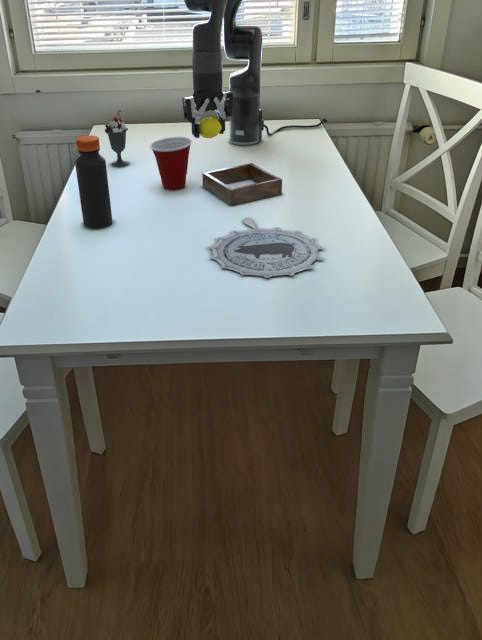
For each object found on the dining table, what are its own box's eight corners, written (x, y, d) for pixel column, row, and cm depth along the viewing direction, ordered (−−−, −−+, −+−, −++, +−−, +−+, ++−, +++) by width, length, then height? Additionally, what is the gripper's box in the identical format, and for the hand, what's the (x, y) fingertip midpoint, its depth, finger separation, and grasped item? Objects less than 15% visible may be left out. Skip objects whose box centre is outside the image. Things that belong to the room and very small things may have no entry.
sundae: (133, 160, 188) (128, 108, 180) (128, 168, 182) (123, 114, 174) (111, 160, 188) (105, 108, 180) (106, 168, 183) (100, 114, 175)
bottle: (78, 223, 150) (66, 138, 139) (103, 215, 153) (93, 132, 142) (92, 232, 145) (80, 145, 134) (118, 224, 149) (108, 138, 138)
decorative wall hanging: (339, 272, 125) (301, 214, 150) (339, 271, 125) (301, 213, 150) (217, 282, 123) (199, 222, 148) (217, 281, 123) (199, 221, 148)
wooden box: (251, 177, 173) (251, 162, 171) (281, 194, 162) (282, 179, 160) (202, 187, 168) (202, 172, 165) (230, 206, 156) (230, 190, 154)
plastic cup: (152, 180, 173) (149, 136, 166) (192, 178, 173) (190, 134, 167) (153, 195, 164) (149, 149, 157) (194, 193, 164) (193, 146, 158)
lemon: (220, 134, 172) (220, 114, 169) (223, 140, 168) (222, 119, 165) (195, 135, 172) (194, 115, 169) (196, 141, 167) (196, 120, 164)
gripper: (188, 74, 155) (190, 143, 164) (239, 68, 160) (239, 134, 169) (175, 69, 161) (178, 136, 170) (225, 63, 166) (225, 128, 175)
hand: (208, 135), depth 169 cm, fingers closed on lemon, 6 cm apart
